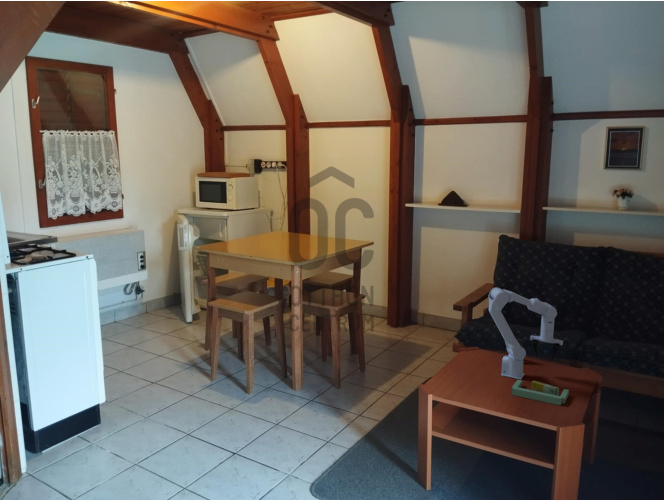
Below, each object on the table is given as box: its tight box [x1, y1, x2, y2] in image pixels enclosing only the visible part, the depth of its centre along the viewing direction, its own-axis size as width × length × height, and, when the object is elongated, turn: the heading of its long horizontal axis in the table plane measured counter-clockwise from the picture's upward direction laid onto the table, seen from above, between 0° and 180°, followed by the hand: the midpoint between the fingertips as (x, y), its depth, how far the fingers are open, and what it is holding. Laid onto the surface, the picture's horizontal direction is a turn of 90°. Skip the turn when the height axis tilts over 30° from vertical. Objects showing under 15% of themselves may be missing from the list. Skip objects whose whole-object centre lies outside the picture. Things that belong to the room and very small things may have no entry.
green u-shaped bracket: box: [511, 379, 570, 406], centre depth 243 cm, size 22×14×3 cm, turn 58°
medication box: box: [530, 380, 560, 396], centre depth 246 cm, size 12×3×4 cm, turn 42°
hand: (545, 356), depth 265 cm, fingers open, 7 cm apart
